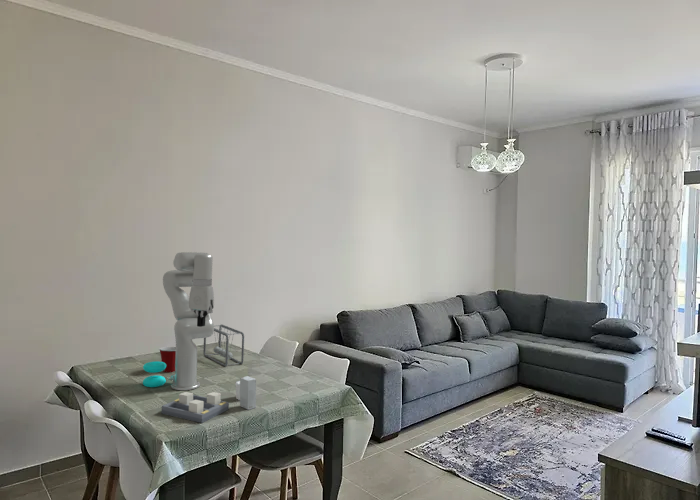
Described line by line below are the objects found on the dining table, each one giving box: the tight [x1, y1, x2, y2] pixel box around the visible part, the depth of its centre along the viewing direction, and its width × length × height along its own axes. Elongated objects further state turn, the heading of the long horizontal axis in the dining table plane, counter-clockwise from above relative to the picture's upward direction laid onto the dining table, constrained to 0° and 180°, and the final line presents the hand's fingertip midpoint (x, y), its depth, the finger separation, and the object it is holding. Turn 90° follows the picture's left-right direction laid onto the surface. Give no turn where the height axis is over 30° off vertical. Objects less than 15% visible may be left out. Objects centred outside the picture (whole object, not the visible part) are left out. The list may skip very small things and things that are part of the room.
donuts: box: [142, 360, 167, 388], centre depth 220 cm, size 10×10×10 cm
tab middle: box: [178, 391, 194, 405], centre depth 191 cm, size 4×4×4 cm
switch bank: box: [160, 394, 230, 424], centre depth 189 cm, size 20×16×3 cm
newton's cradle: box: [203, 323, 245, 368], centre depth 267 cm, size 30×10×18 cm, turn 40°
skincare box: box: [239, 375, 257, 410], centre depth 196 cm, size 6×4×12 cm
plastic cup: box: [158, 346, 176, 373], centre depth 242 cm, size 11×11×12 cm
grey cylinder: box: [235, 380, 240, 401], centre depth 207 cm, size 7×7×7 cm
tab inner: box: [206, 391, 222, 405], centre depth 192 cm, size 4×4×4 cm
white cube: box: [189, 400, 204, 414], centre depth 183 cm, size 4×4×4 cm
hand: (201, 326), depth 200 cm, fingers closed
